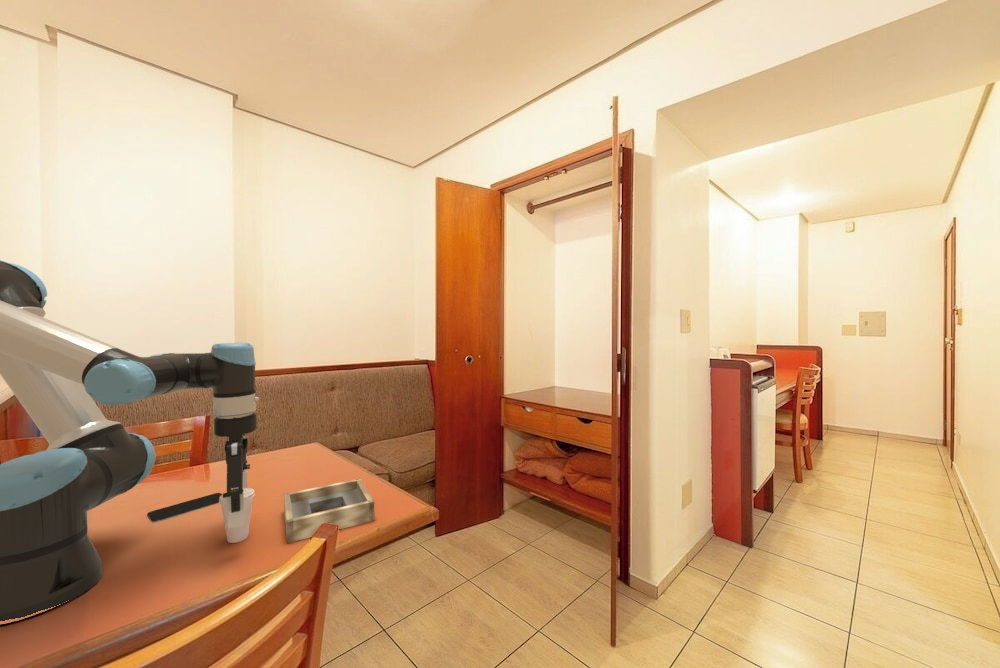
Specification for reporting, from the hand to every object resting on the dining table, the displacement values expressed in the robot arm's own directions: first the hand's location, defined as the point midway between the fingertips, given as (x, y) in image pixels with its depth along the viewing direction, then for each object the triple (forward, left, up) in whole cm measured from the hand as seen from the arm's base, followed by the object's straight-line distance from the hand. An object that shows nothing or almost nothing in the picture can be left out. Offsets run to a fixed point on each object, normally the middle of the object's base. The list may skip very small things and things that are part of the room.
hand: (238, 512), depth 82 cm
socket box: (+18, 0, -6) cm, 19 cm away
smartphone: (-12, +24, -6) cm, 28 cm away
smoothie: (0, 0, -6) cm, 6 cm away
